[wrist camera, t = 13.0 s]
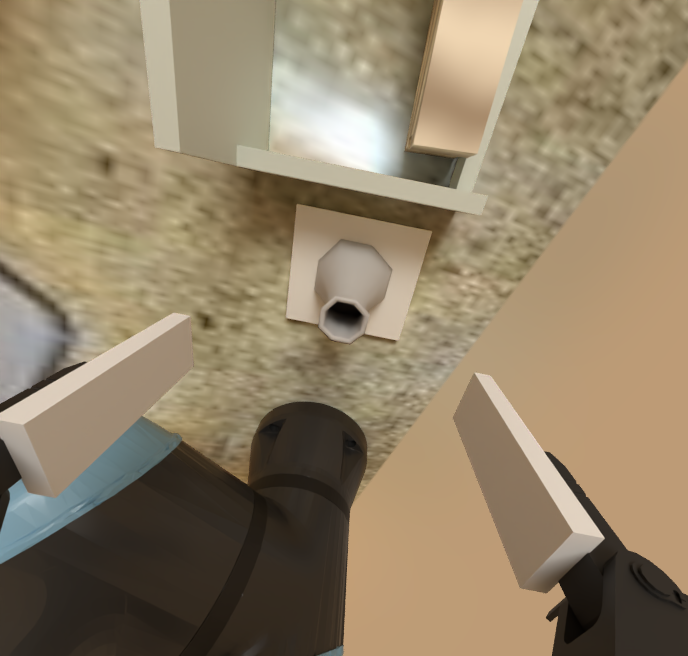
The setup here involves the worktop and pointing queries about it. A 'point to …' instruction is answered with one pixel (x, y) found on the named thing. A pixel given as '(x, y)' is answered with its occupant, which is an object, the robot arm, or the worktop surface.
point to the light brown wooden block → (460, 75)
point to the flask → (350, 288)
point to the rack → (267, 98)
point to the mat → (387, 238)
